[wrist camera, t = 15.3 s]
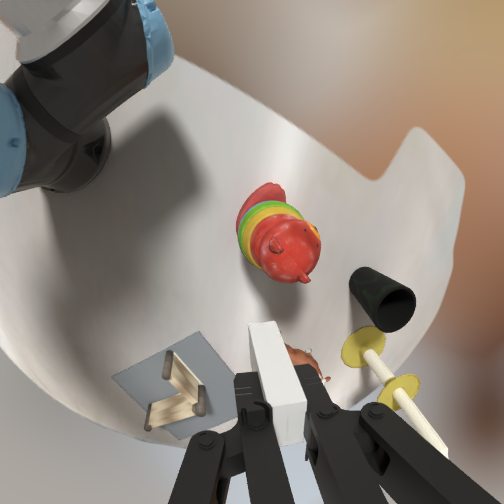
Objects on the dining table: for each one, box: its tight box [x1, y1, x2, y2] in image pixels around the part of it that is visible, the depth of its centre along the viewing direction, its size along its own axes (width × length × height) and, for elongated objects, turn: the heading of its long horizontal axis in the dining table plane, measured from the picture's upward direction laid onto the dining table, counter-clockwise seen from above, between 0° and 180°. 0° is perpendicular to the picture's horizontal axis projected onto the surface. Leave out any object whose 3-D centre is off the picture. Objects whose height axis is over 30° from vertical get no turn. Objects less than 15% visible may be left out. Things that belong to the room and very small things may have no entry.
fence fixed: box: [162, 350, 206, 417], centre depth 51 cm, size 11×2×7 cm, turn 30°
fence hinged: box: [144, 394, 195, 431], centre depth 52 cm, size 11×1×7 cm, turn 114°
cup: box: [349, 267, 416, 333], centre depth 48 cm, size 8×8×12 cm
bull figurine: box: [279, 331, 331, 386], centre depth 52 cm, size 4×13×8 cm, turn 48°
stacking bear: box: [236, 183, 321, 284], centre depth 40 cm, size 11×10×18 cm
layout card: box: [112, 331, 238, 440], centre depth 56 cm, size 22×21×1 cm
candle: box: [341, 326, 449, 459], centre depth 43 cm, size 10×10×32 cm
